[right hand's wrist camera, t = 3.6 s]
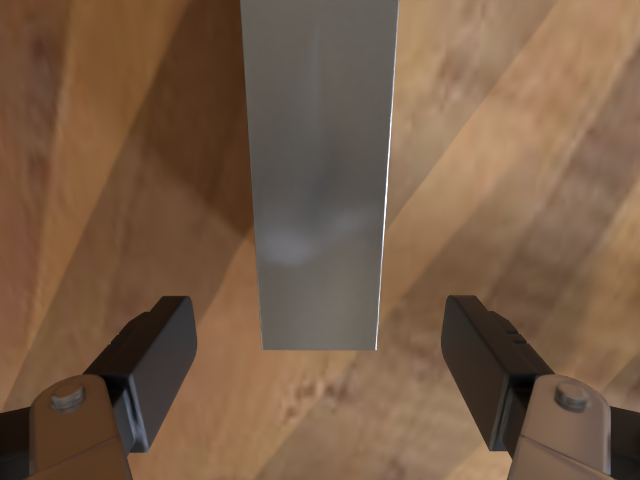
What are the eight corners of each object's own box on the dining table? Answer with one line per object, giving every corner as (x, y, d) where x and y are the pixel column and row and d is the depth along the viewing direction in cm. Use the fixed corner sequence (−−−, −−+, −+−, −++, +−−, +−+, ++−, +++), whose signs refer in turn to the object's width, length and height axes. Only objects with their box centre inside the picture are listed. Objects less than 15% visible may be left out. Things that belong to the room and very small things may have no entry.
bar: (356, 270, 25) (376, 350, 16) (280, 270, 25) (261, 350, 16) (379, -288, 16) (448, -734, 7) (258, -289, 16) (192, -738, 7)
